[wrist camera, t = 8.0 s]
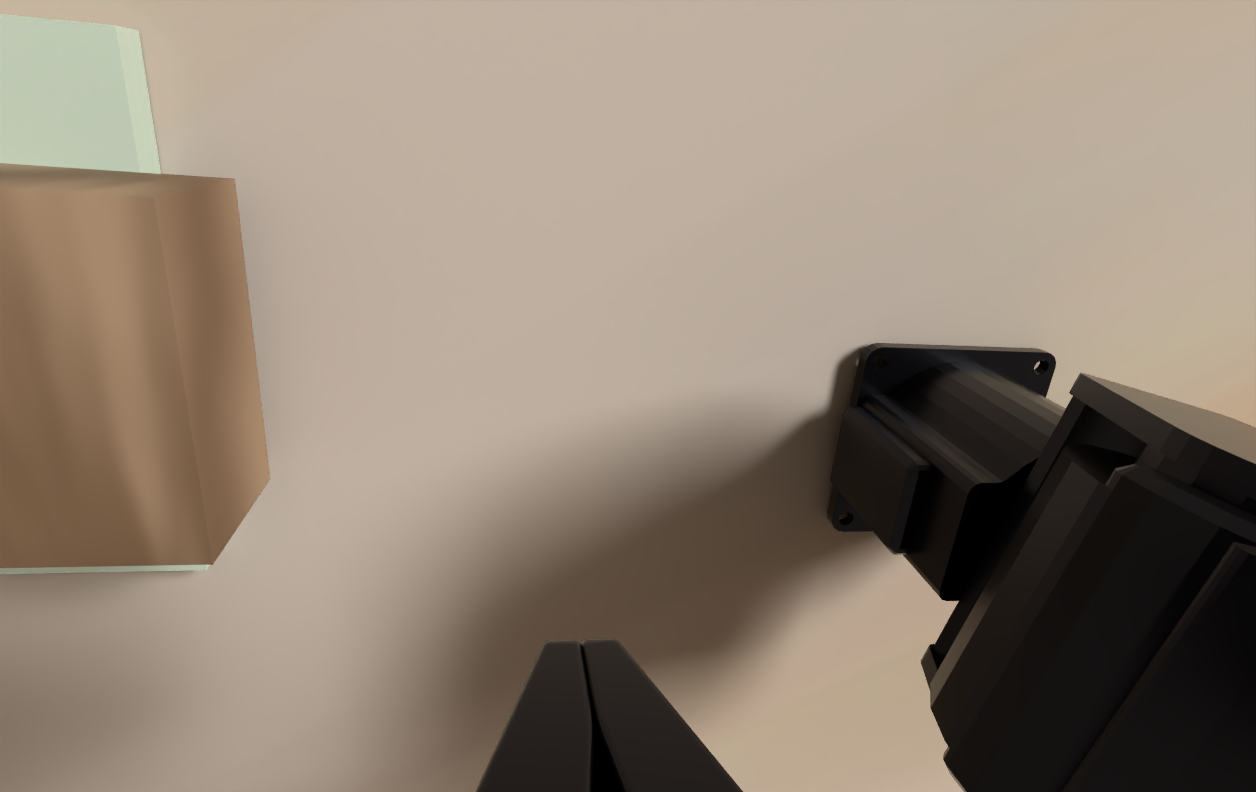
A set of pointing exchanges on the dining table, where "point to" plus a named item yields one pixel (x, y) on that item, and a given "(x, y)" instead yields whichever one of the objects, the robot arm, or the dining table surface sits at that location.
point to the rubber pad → (75, 120)
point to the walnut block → (124, 369)
